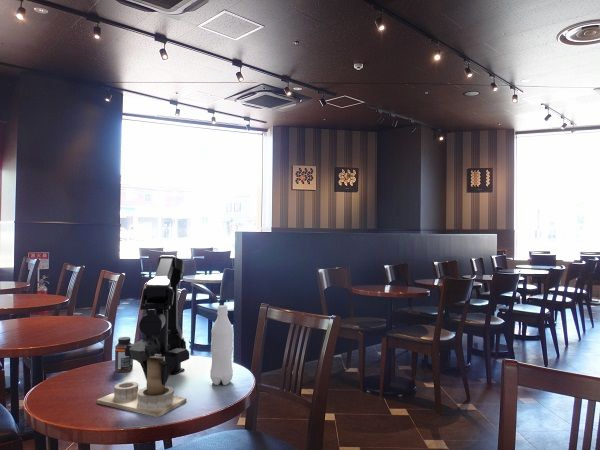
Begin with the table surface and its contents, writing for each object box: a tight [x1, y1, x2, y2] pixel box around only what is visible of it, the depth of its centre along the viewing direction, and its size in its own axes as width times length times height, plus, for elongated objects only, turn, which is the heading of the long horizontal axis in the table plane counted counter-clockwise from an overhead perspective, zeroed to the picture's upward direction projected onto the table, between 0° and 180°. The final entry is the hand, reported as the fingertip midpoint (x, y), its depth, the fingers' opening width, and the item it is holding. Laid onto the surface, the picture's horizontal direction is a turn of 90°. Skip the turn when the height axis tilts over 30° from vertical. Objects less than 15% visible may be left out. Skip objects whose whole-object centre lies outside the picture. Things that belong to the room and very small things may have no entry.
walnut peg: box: [146, 356, 166, 396], centre depth 127 cm, size 5×5×10 cm
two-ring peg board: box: [96, 381, 187, 418], centre depth 129 cm, size 12×22×4 cm, turn 66°
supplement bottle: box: [114, 336, 134, 373], centre depth 158 cm, size 6×6×11 cm
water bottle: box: [209, 304, 234, 386], centre depth 146 cm, size 7×7×25 cm
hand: (156, 383), depth 127 cm, fingers closed on walnut peg, 5 cm apart
